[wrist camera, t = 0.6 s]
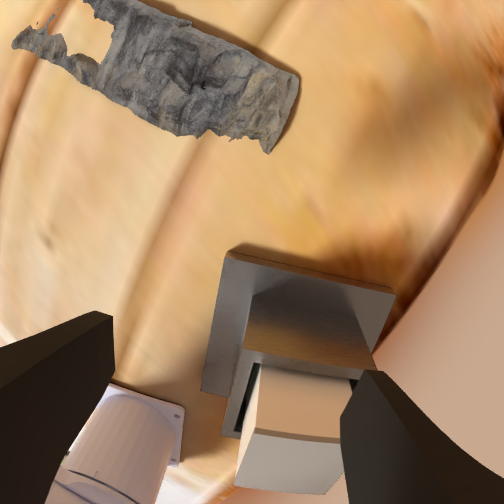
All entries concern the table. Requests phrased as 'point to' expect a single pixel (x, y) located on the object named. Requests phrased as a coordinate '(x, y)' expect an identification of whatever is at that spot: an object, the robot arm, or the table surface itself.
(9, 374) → the robot arm
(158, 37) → the driftwood
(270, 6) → the table surface
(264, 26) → the table surface
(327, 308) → the sleeve stand
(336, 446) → the post
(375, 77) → the table surface
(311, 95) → the table surface
